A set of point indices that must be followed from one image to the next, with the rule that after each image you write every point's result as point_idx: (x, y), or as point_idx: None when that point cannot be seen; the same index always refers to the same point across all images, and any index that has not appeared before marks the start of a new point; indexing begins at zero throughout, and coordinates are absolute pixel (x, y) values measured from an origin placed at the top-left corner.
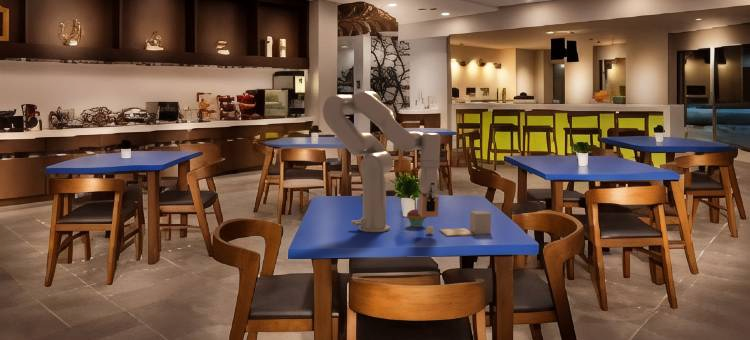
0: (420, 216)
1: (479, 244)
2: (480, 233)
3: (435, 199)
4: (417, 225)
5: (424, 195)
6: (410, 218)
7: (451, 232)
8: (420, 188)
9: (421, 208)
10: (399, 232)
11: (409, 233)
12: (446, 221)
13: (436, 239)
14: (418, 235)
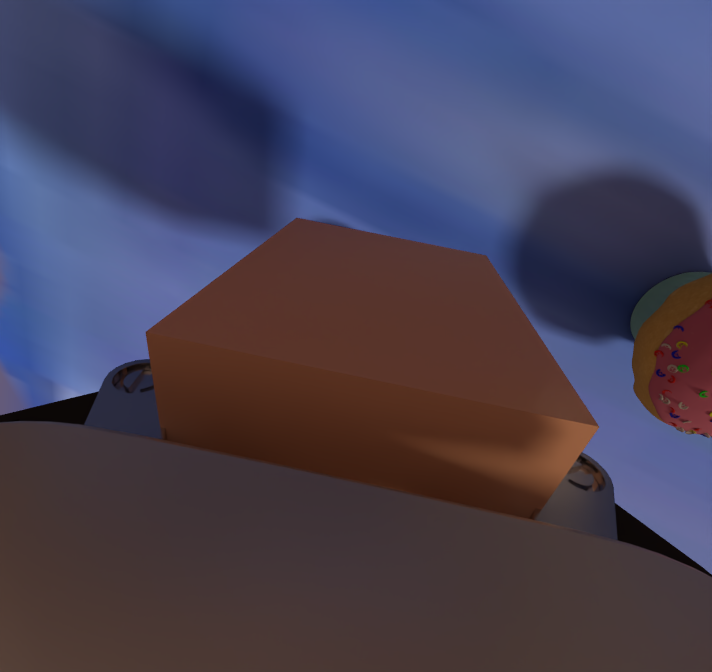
0: (649, 351)
1: (67, 386)
2: None
3: None
4: (642, 305)
5: (337, 447)
6: None
7: None
8: (610, 639)
9: (317, 252)
10: (548, 50)
11: (461, 132)
12: (650, 513)
13: (205, 241)
14: (361, 175)
